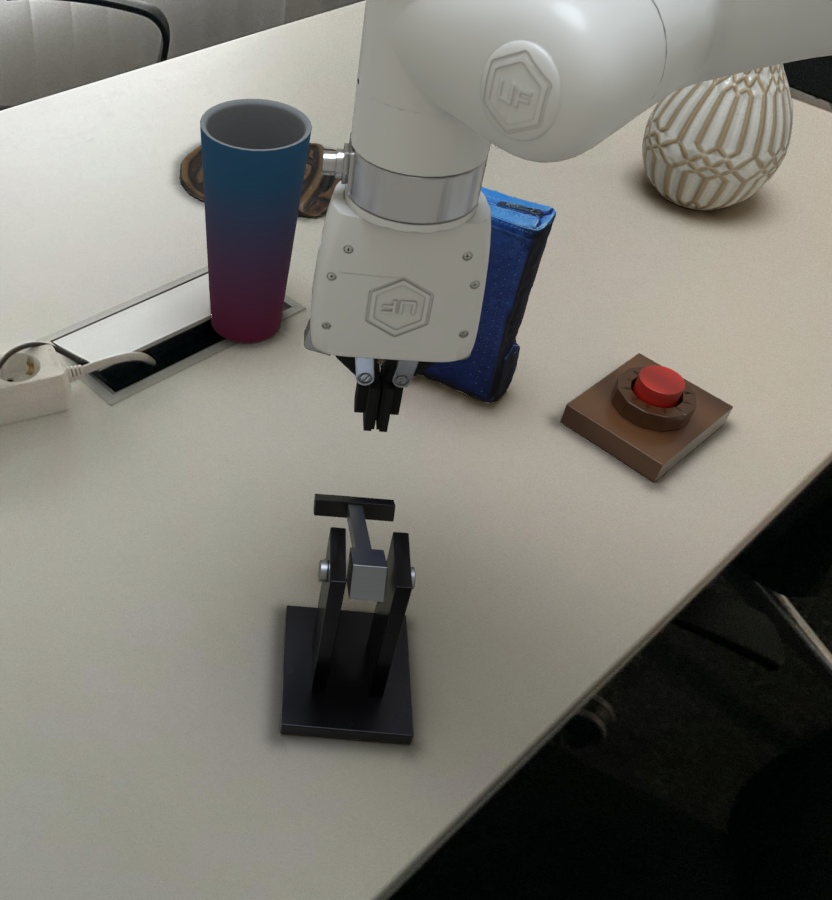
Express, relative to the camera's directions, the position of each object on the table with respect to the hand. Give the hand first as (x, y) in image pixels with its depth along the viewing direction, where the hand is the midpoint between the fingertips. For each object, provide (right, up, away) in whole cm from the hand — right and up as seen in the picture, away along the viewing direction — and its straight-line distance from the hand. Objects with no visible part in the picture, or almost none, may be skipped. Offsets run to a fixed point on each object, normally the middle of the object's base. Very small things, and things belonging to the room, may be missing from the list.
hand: (374, 417), depth 66 cm
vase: (+48, +30, +54) cm, 78 cm away
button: (+29, +3, +21) cm, 35 cm away
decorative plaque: (-5, +32, +54) cm, 63 cm away
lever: (-1, -10, 0) cm, 10 cm away
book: (+10, +5, +28) cm, 30 cm away
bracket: (-2, -19, +3) cm, 19 cm away
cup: (-8, +11, +32) cm, 35 cm away
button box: (+29, 0, +23) cm, 37 cm away
